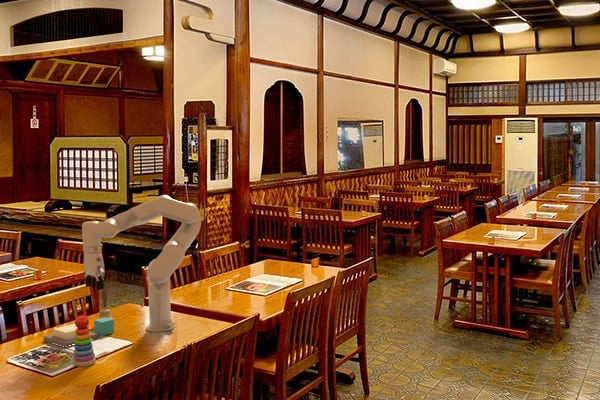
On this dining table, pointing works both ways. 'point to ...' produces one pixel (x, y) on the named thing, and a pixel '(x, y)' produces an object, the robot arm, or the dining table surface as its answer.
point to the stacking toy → (83, 343)
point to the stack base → (66, 342)
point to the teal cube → (104, 326)
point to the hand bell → (104, 306)
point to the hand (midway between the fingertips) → (94, 287)
